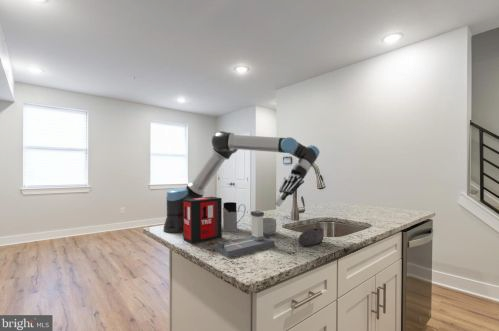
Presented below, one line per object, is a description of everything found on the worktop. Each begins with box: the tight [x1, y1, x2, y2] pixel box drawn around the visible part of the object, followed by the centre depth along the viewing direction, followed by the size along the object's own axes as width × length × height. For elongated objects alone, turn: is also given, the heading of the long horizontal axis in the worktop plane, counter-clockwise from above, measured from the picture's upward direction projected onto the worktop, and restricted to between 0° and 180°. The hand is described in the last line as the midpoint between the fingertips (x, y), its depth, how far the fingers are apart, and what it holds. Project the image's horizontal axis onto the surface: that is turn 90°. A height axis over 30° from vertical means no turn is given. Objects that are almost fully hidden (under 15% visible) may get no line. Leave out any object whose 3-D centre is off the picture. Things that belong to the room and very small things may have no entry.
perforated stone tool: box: [297, 227, 324, 247], centre depth 112 cm, size 15×5×7 cm, turn 119°
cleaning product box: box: [182, 196, 223, 245], centre depth 122 cm, size 16×9×20 cm, turn 129°
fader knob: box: [250, 210, 265, 241], centre depth 112 cm, size 5×4×12 cm
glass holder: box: [222, 201, 246, 232], centre depth 143 cm, size 9×14×15 cm, turn 117°
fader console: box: [213, 232, 276, 258], centre depth 108 cm, size 12×24×4 cm, turn 125°
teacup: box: [263, 216, 277, 236], centre depth 132 cm, size 14×11×8 cm
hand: (277, 204), depth 119 cm, fingers closed
